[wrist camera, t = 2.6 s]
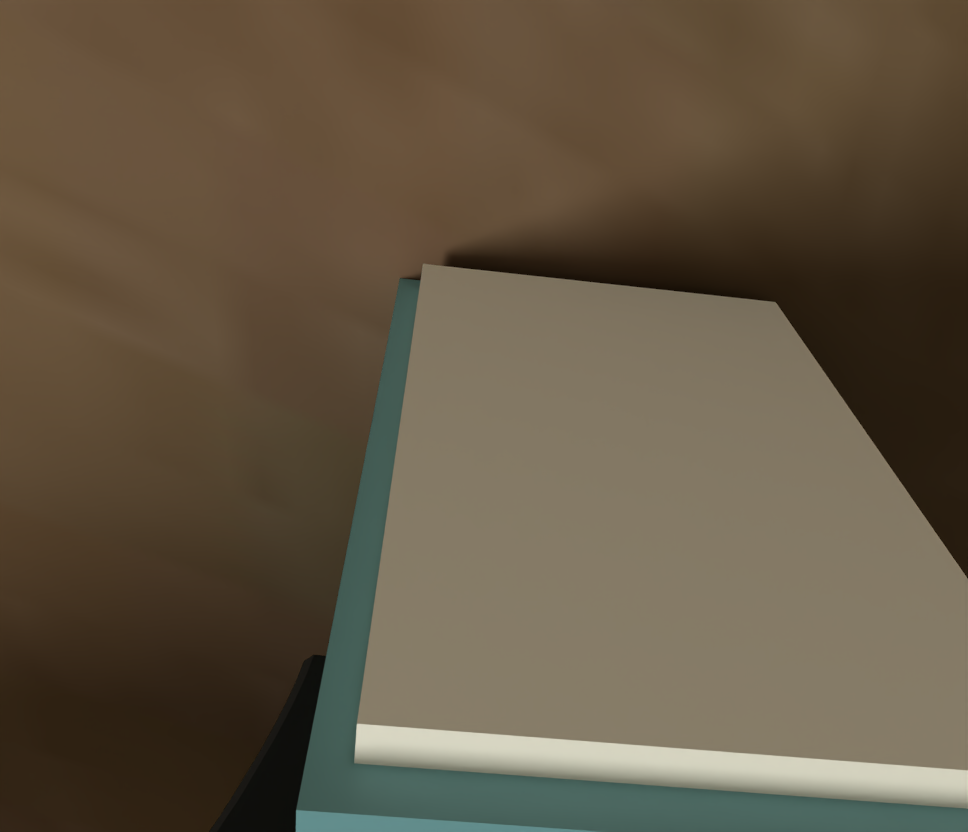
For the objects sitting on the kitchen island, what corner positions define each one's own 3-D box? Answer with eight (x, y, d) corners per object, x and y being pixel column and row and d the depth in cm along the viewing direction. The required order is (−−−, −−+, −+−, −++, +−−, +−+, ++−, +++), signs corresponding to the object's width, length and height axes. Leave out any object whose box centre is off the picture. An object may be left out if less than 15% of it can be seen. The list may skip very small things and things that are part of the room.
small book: (358, 828, 16) (282, 1429, 10) (401, 252, 10) (297, 768, 4) (620, 846, 16) (707, 1442, 10) (788, 293, 11) (1190, 836, 5)
